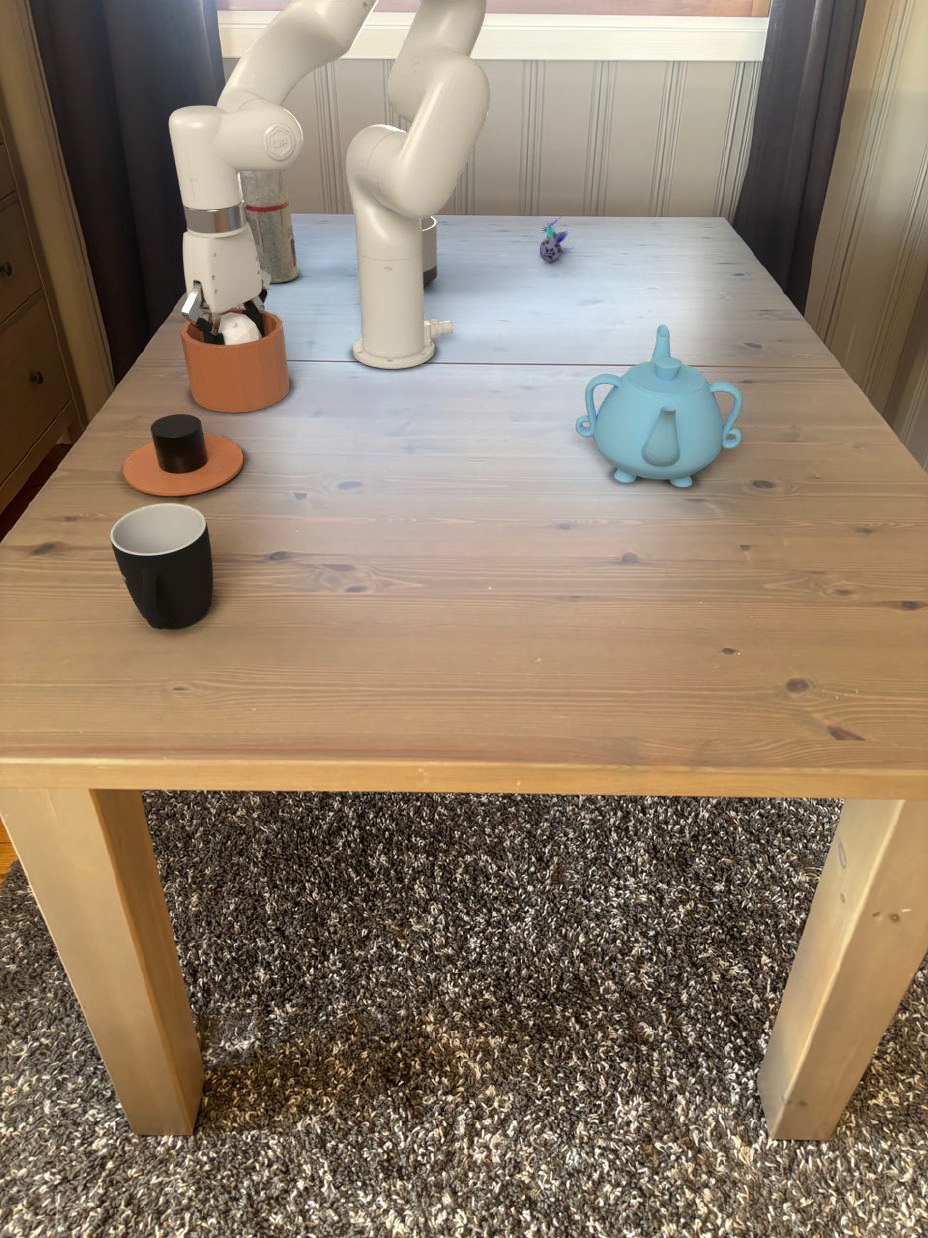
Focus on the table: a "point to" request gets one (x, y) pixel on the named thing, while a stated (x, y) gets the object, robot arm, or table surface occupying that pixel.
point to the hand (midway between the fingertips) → (236, 348)
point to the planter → (429, 249)
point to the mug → (166, 563)
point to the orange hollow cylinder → (237, 368)
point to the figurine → (552, 243)
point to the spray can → (270, 222)
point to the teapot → (660, 418)
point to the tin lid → (182, 459)
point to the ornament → (238, 329)
